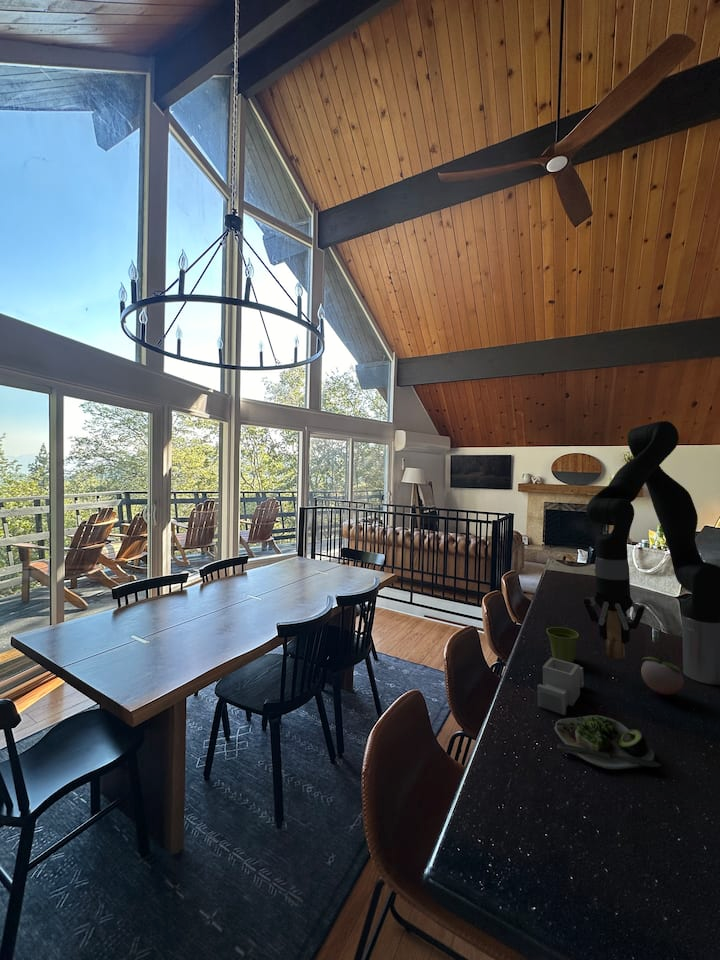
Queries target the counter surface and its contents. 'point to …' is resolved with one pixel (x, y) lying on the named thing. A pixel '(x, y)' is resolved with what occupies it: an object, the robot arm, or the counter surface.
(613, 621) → the brown rounded rod
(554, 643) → the plant pot
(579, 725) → the salad plate
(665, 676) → the decorative fruit
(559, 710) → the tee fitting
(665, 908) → the counter surface
